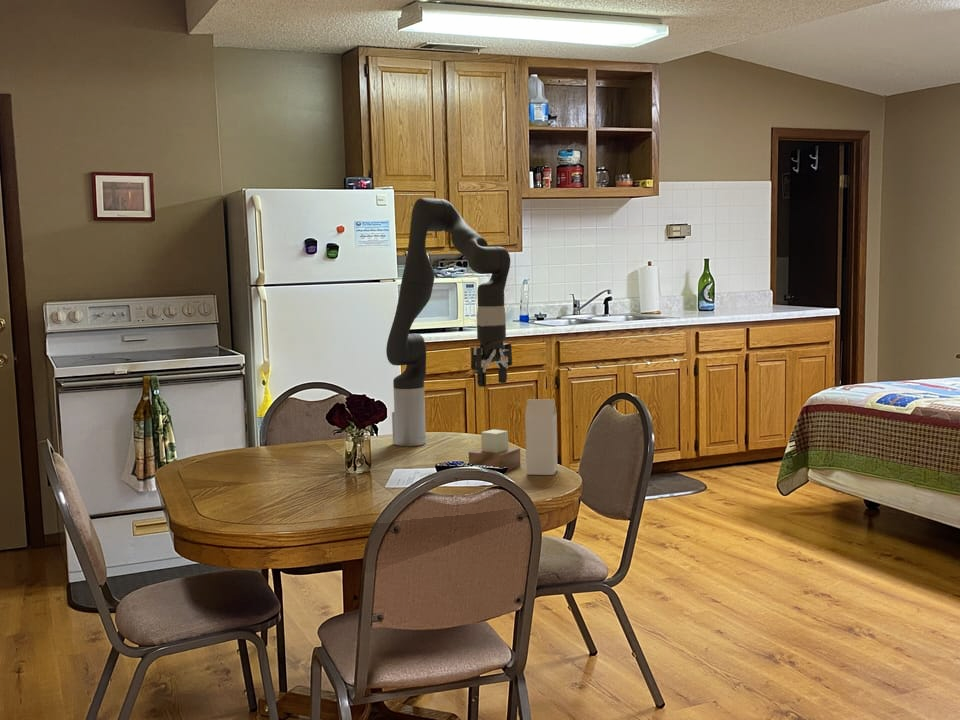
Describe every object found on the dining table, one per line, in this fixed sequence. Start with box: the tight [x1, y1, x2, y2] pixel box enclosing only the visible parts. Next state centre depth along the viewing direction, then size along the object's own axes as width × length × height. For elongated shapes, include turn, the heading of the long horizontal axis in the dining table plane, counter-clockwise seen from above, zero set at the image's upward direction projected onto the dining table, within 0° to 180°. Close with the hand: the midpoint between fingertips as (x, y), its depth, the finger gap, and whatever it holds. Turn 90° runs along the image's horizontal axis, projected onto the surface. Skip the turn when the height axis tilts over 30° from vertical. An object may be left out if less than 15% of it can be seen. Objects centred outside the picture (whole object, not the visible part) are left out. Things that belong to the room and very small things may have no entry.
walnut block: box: [468, 446, 521, 471], centre depth 266 cm, size 10×10×5 cm
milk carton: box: [524, 398, 558, 476], centre depth 257 cm, size 7×7×19 cm
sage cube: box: [480, 428, 509, 453], centre depth 265 cm, size 5×5×5 cm
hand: (492, 384), depth 265 cm, fingers open, 8 cm apart
